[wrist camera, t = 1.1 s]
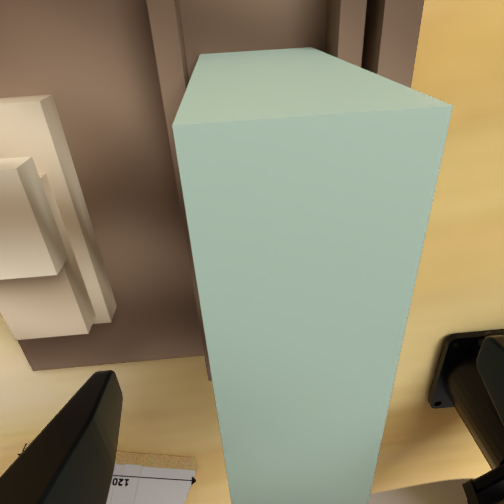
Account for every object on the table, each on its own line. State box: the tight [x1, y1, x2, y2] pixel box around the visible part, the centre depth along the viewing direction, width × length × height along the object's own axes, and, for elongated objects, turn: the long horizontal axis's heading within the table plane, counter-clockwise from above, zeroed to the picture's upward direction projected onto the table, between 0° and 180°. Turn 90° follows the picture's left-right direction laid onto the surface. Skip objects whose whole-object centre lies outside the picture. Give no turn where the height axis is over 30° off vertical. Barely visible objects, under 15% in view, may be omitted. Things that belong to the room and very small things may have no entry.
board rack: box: [0, 0, 424, 381], centre depth 17 cm, size 18×18×3 cm
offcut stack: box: [0, 95, 117, 340], centre depth 15 cm, size 10×4×4 cm, turn 3°
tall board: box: [172, 47, 453, 504], centre depth 13 cm, size 12×4×10 cm, turn 3°
